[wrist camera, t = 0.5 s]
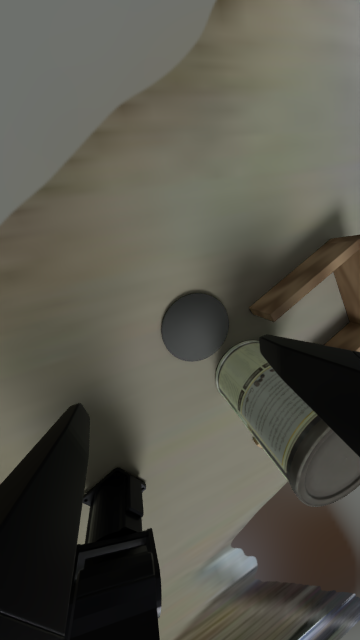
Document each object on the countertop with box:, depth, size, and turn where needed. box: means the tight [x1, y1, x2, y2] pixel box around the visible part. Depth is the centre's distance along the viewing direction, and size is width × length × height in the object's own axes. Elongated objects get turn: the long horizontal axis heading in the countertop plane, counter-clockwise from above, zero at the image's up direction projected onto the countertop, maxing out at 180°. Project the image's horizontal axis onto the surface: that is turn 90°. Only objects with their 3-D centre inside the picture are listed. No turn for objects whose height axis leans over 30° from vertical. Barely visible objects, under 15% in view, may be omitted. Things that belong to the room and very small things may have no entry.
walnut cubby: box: [249, 235, 360, 352], centre depth 27 cm, size 15×16×4 cm
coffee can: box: [216, 340, 360, 507], centre depth 22 cm, size 10×10×14 cm
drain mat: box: [161, 293, 229, 361], centre depth 24 cm, size 9×9×1 cm
